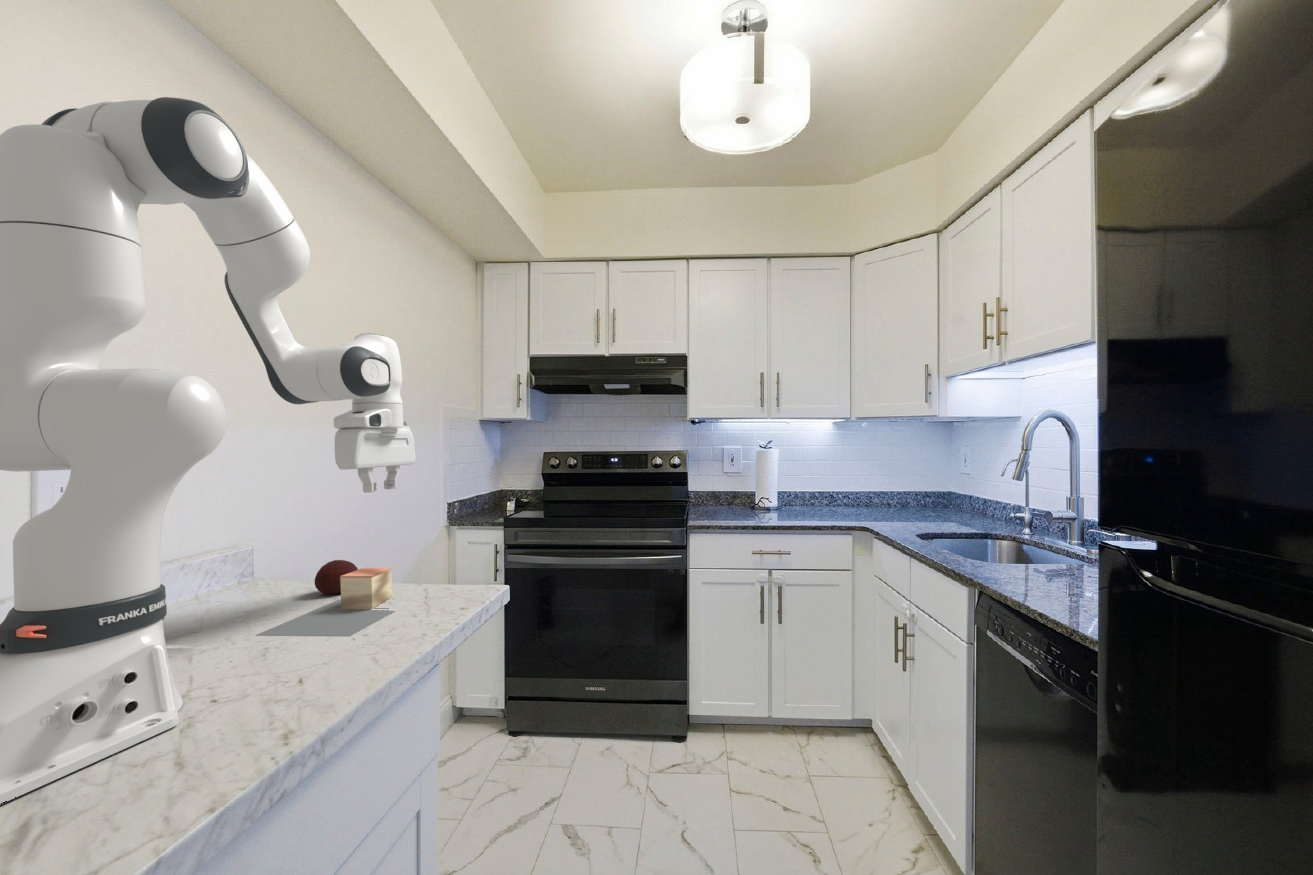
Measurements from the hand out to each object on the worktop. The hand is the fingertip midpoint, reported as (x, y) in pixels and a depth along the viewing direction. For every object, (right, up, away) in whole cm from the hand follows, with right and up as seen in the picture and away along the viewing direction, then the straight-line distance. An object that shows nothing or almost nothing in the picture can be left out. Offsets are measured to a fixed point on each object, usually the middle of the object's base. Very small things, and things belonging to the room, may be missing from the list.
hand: (380, 490), depth 106 cm
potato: (-11, -22, +4) cm, 25 cm away
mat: (-1, -21, -11) cm, 24 cm away
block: (0, -21, -5) cm, 21 cm away
